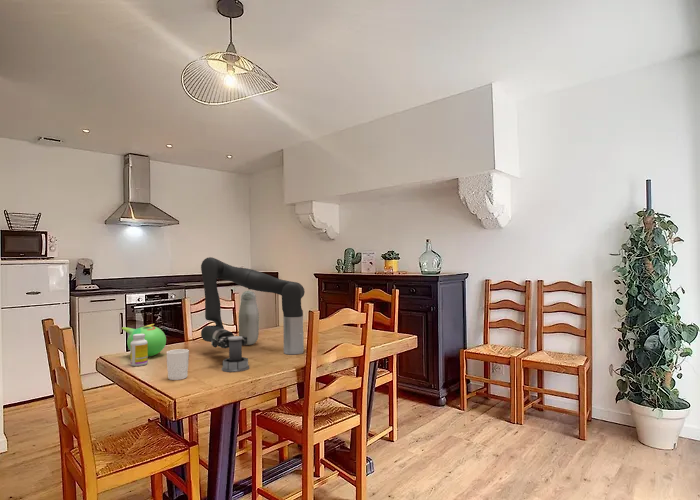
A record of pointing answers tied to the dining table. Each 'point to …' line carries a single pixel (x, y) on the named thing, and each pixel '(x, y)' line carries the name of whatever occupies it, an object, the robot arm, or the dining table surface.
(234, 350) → the white-topped grey cylinder
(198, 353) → the dining table surface
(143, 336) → the supplement bottle
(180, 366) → the white cup
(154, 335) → the toy bird
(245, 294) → the grey bottle
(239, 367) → the octagonal ring holder
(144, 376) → the dining table surface
